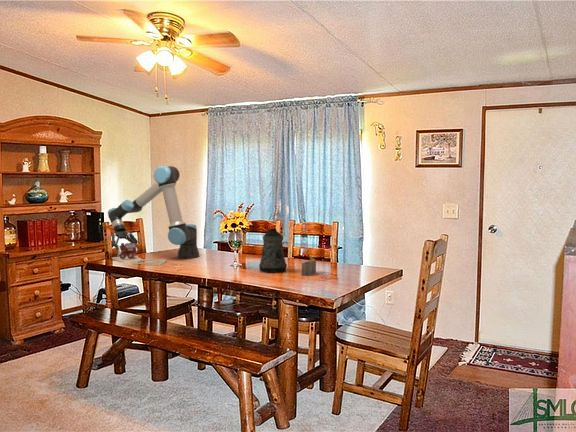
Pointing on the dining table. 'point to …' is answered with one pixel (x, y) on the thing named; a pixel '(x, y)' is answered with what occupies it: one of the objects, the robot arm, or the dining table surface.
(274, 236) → the dark tapered vessel
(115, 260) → the cream bay
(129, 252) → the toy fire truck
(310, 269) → the grey rectangular block
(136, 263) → the grey bay
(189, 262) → the dining table surface
